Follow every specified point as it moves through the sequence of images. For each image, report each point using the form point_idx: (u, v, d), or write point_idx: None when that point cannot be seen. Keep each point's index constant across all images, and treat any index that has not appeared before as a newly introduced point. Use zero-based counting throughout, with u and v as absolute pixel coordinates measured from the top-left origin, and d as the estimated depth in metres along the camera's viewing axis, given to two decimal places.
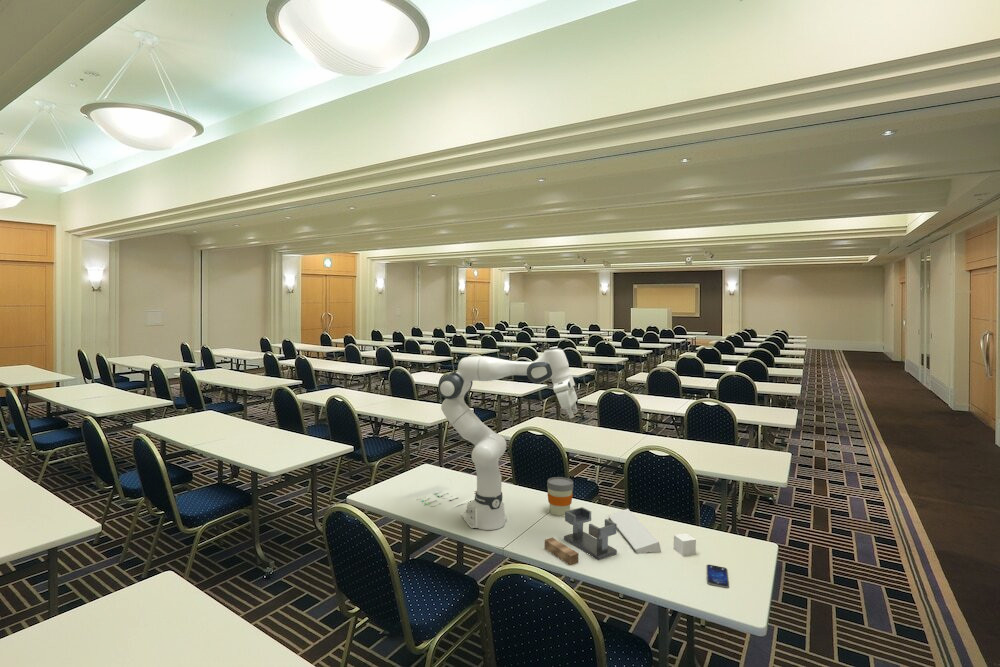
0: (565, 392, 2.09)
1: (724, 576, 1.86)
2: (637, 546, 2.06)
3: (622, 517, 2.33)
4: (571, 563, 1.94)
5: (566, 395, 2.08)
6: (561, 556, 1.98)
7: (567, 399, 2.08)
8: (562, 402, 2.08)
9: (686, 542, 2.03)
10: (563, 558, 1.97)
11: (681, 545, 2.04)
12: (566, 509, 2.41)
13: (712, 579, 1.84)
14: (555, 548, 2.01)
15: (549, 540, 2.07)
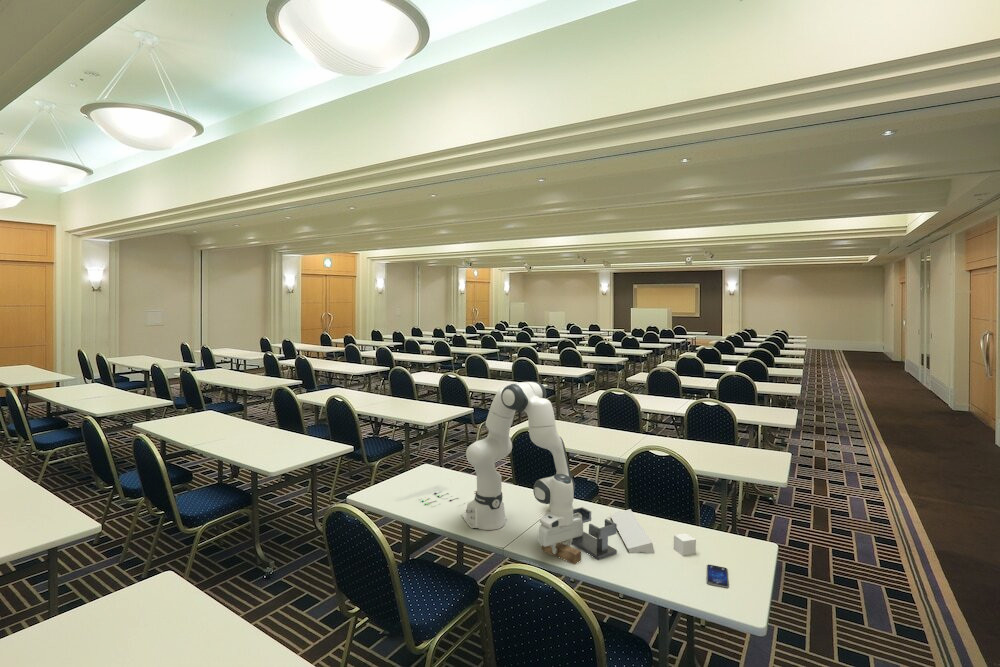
0: (545, 530, 1.95)
1: (724, 576, 1.86)
2: (630, 545, 2.07)
3: (623, 517, 2.33)
4: (575, 561, 1.95)
5: (544, 533, 1.95)
6: (564, 555, 1.98)
7: (544, 537, 1.95)
8: (540, 537, 1.97)
9: (686, 542, 2.03)
10: (566, 557, 1.98)
11: (681, 545, 2.04)
12: None
13: (711, 579, 1.84)
14: None
15: None
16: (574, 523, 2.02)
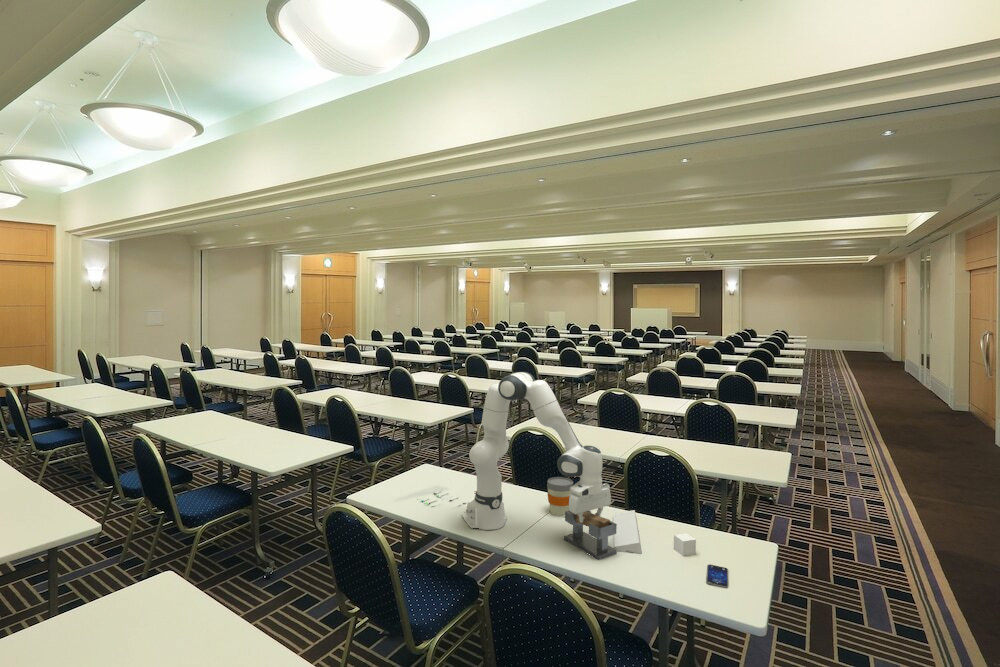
0: (576, 498, 2.03)
1: (724, 576, 1.86)
2: (618, 544, 2.08)
3: (624, 517, 2.33)
4: None
5: (575, 501, 2.02)
6: (593, 524, 2.06)
7: (574, 505, 2.02)
8: (570, 505, 2.04)
9: (686, 542, 2.03)
10: None
11: (681, 545, 2.04)
12: (566, 509, 2.41)
13: (711, 579, 1.84)
14: (585, 517, 2.09)
15: None
16: (602, 493, 2.10)
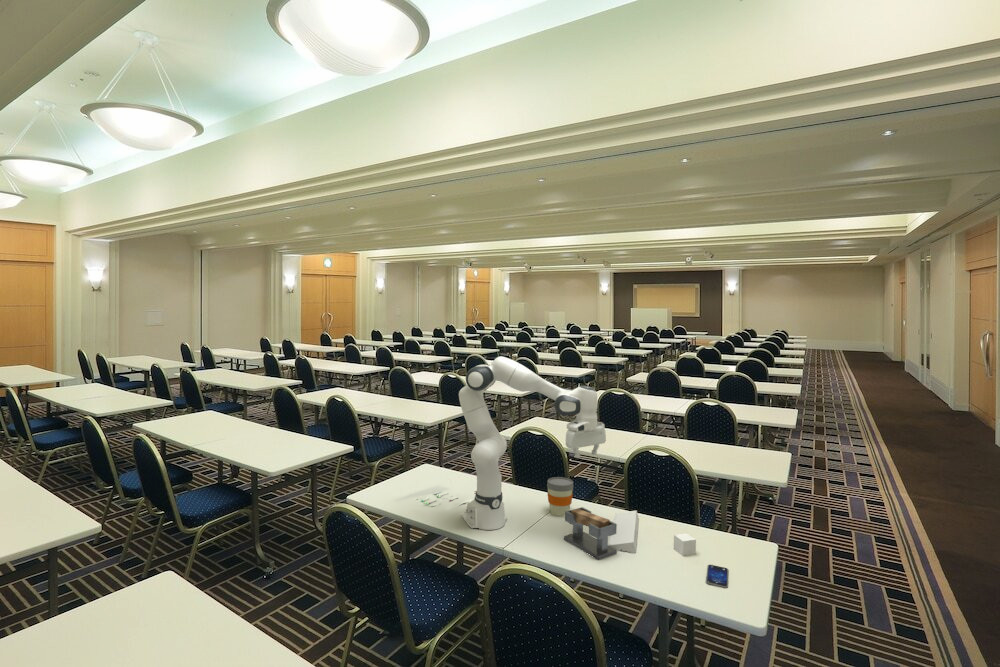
0: (572, 433, 2.13)
1: (724, 576, 1.86)
2: (613, 542, 2.09)
3: (625, 516, 2.33)
4: None
5: (571, 436, 2.13)
6: (593, 524, 2.06)
7: (571, 440, 2.13)
8: (567, 440, 2.15)
9: (686, 542, 2.03)
10: None
11: (681, 545, 2.04)
12: (566, 509, 2.41)
13: (711, 579, 1.84)
14: (585, 517, 2.09)
15: (576, 511, 2.13)
16: (597, 430, 2.21)
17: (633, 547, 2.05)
